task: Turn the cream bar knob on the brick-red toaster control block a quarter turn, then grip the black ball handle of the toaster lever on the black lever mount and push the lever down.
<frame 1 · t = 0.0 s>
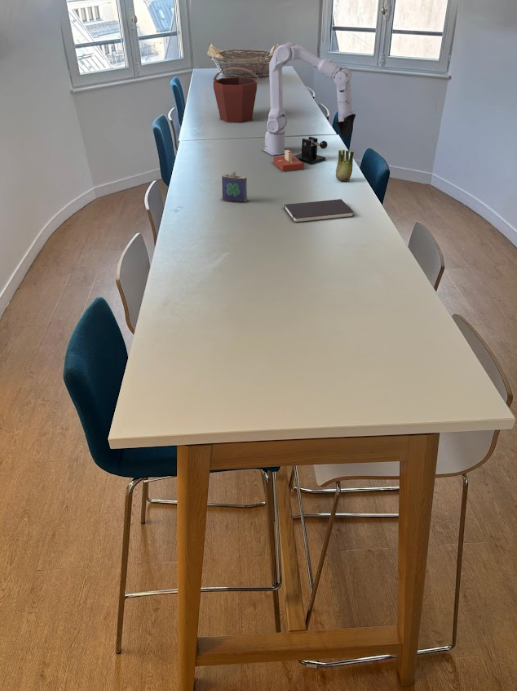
hand: (347, 135, 241), 11 cm above the table, tool pointing down, fingers open, 7 cm apart
notebook: (318, 213, 200), on the table
toaster lever: (316, 143, 242), point 7 cm above the table, hinge at 6.0°
fennel bulb: (342, 181, 226), on the table
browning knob: (288, 155, 239), point 4 cm above the table, hinge at 0.0°
black lever mount: (308, 159, 248), on the table
flask: (234, 201, 209), on the table
bucket: (236, 119, 306), on the table
dial panel: (288, 166, 241), on the table
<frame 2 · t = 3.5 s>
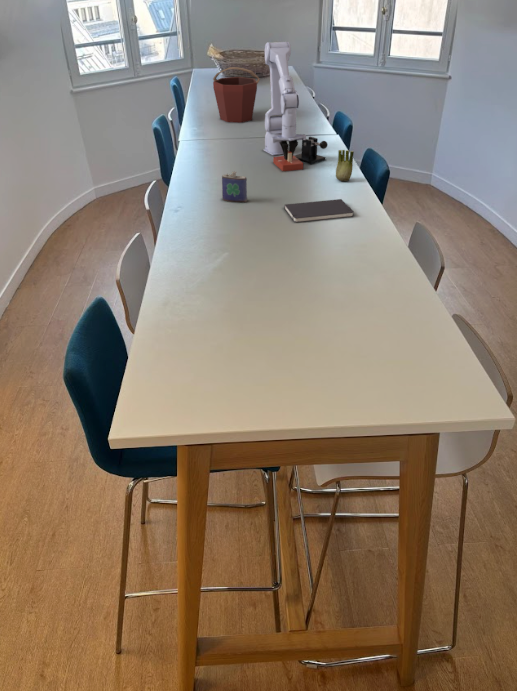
hand: (288, 158, 239), 3 cm above the table, tool pointing down, fingers closed on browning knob
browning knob: (288, 155, 239), point 4 cm above the table, hinge at 0.0°, touching gripper
everything else where it was.
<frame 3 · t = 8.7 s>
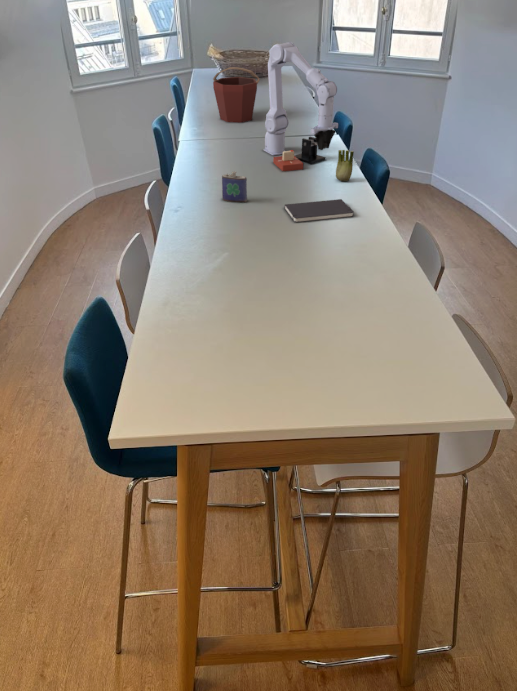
hand: (323, 148, 240), 6 cm above the table, tool pointing down, fingers closed on toaster lever, 3 cm apart
toaster lever: (316, 143, 242), point 7 cm above the table, hinge at 6.0°, touching gripper
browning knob: (288, 155, 239), point 4 cm above the table, hinge at 89.6°
everything else where it was.
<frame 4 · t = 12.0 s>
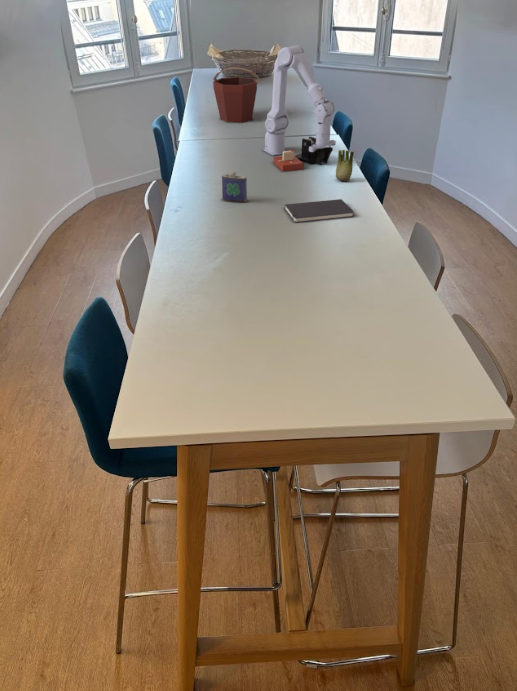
hand: (321, 165, 245), 0 cm above the table, tool pointing down, fingers closed on toaster lever, 3 cm apart
toaster lever: (315, 149, 243), point 5 cm above the table, hinge at -27.9°, touching gripper
everything else where it was.
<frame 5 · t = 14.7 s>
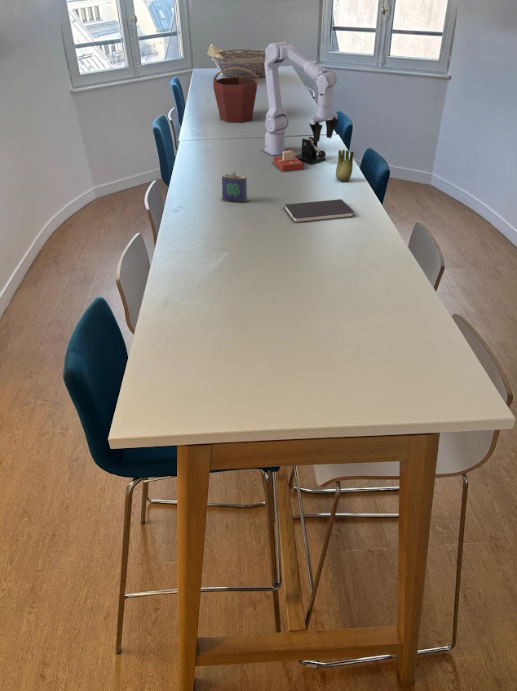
hand: (322, 139, 238), 10 cm above the table, tool pointing down, fingers open, 7 cm apart
toaster lever: (315, 148, 243), point 5 cm above the table, hinge at -23.8°
everything else where it was.
at the end: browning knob at +90° (first picture: +0°); toaster lever at -24° (first picture: +6°) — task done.
